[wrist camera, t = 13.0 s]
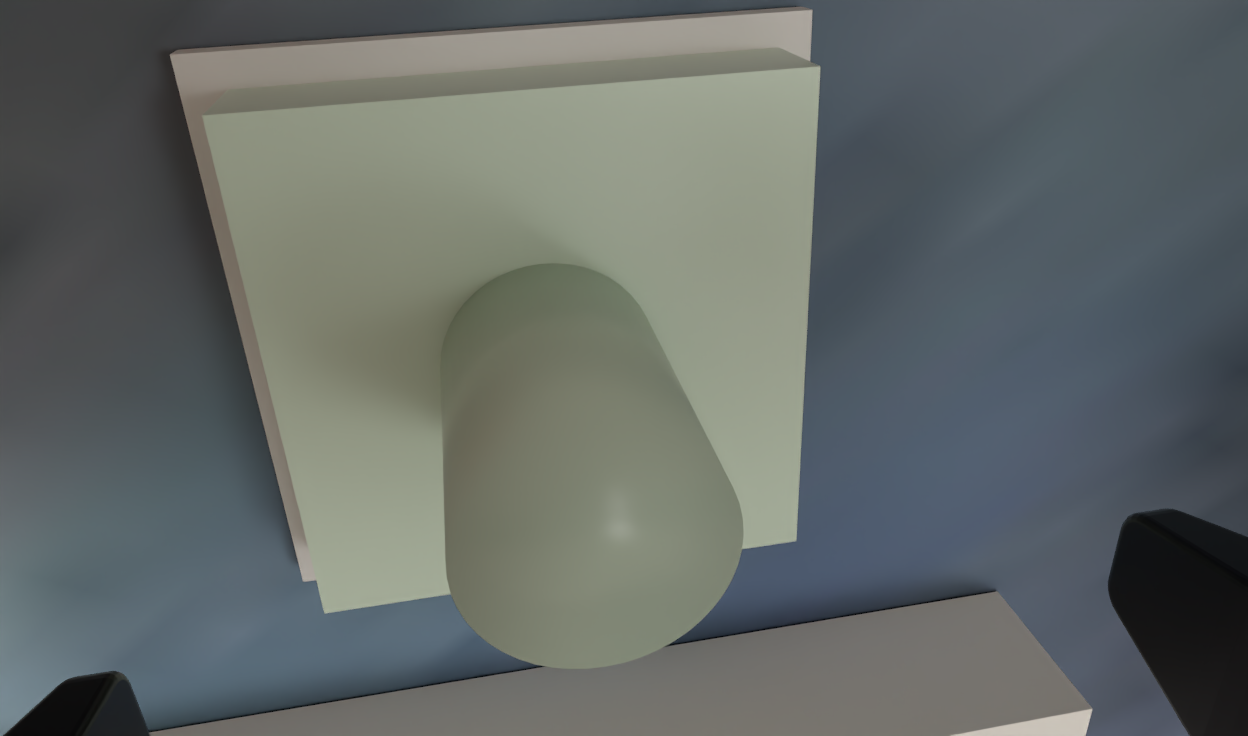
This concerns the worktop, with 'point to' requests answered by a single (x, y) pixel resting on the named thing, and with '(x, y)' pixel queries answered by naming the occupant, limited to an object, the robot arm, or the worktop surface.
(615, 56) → the pad
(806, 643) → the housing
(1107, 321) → the worktop surface
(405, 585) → the cover
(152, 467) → the worktop surface
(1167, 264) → the worktop surface
